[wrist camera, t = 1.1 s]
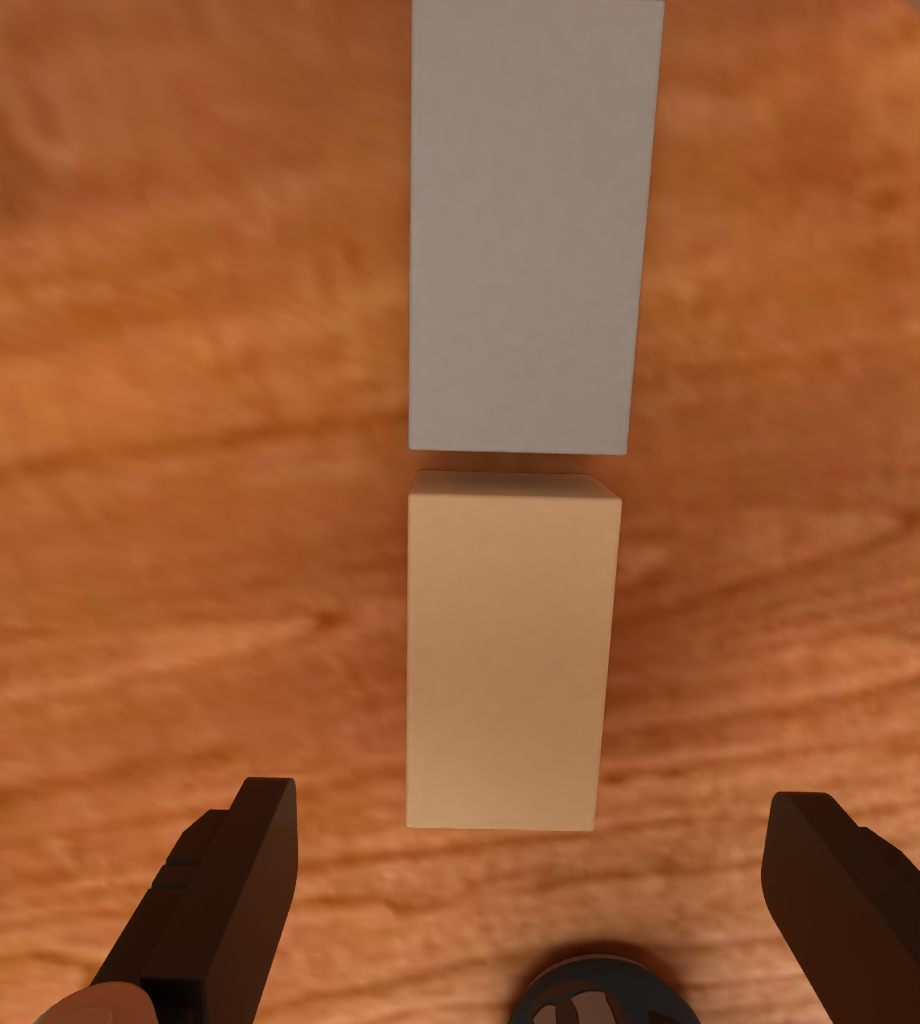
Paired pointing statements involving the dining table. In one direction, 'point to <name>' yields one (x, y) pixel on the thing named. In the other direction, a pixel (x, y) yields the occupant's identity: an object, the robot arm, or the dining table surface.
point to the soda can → (600, 995)
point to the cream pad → (507, 648)
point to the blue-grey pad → (528, 220)
